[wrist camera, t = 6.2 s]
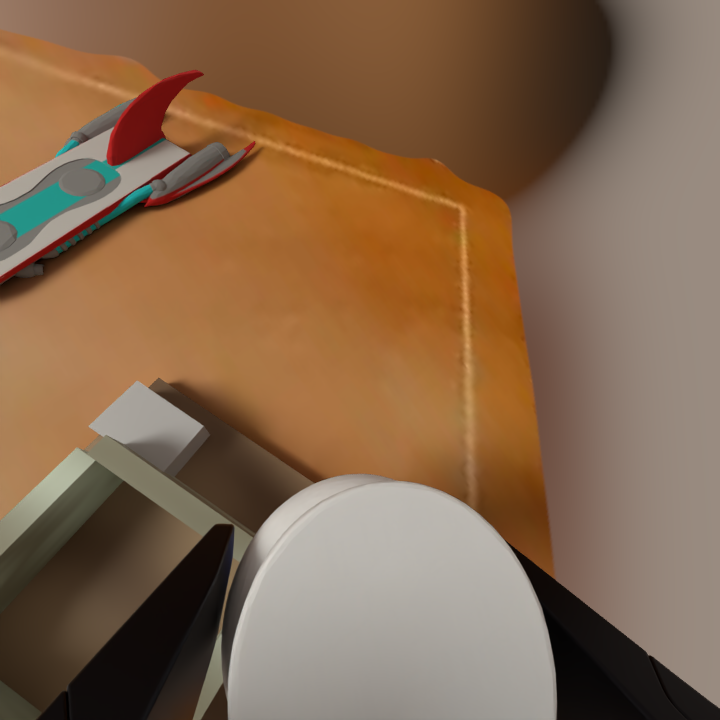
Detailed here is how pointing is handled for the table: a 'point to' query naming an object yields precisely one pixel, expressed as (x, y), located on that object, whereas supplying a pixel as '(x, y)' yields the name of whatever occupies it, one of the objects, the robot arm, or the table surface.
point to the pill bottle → (383, 612)
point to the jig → (120, 550)
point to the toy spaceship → (102, 179)
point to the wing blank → (152, 428)
